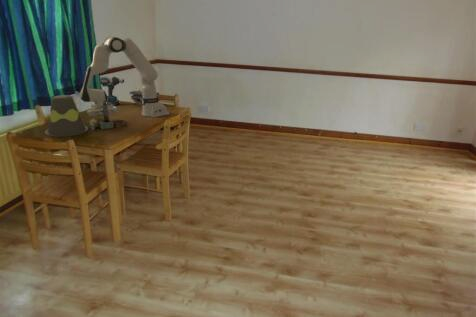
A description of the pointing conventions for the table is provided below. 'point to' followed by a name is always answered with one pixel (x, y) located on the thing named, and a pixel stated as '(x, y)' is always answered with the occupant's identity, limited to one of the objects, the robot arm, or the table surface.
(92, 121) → the drift key
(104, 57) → the robot arm
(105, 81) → the impact wrench
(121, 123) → the rack
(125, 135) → the table surface
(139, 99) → the dark grey irregular piece
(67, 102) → the banded grey frustum
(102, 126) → the socket block
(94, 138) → the table surface
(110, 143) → the table surface
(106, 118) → the drill bit
